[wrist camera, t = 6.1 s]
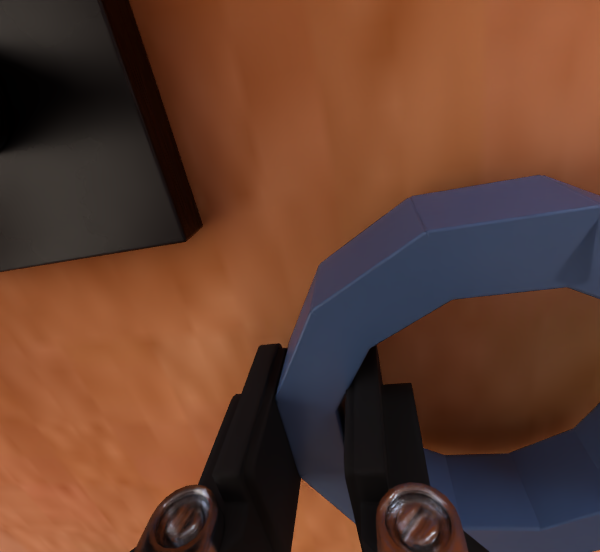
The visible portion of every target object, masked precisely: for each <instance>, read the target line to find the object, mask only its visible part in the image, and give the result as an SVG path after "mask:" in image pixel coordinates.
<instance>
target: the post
mask: <svg viewBox="0 0 600 552" xmlns="http://www.w3.org/2000/svg"><path fill="white" fill-rule="evenodd" d="M202 226H203V224H202V221H201V218H200V215H199V212H198V209H197V206H196V203H195V200H194V197H193V194H192V191H191V188H190V185H189V182H188V179H187V176H186V173H185V170H184V166H183V163H182V160H181V157H180V154H179V151H178V148H177V145H176V142H175V139H174V136H173V133H172V130H171V127H170V124H169V121H168V118H167V115H166V112H165V109H164V106H163V103H162V100H161V97H160V94H159V91H158V88H157V85H156V82H155V79H154V76H153V73H152V69H151V66H150V63H149V60H148V57H147V54H146V51H145V48H144V45H143V42H142V39H141V36H140V33H139V30H138V27H137V24H136V21H135V18H134V15H133V12H132V9H131V6H130V3H129V0H0V272H4V271H10V270H16V269H22V268H28V267H34V266H40V265H47V264H53V263H59V262H65V261H71V260H77V259H83V258H90V257H96V256H102V255H108V254H114V253H120V252H126V251H133V250H139V249H145V248H151V247H157V246H163V245H169V244H176V243H182V242H186V241H187V240H188V239H189V238H190V237H192V236H193V235H194V234H195V233H196V232H197V231H198V230H199V229H200V228H202Z"/></svg>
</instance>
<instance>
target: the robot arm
mask: <svg viewBox="0 0 600 552" xmlns="http://www.w3.org/2000/svg"><path fill="white" fill-rule="evenodd" d="M286 352H287V348H282V346H281V344H279V343H278V344H267V345H260V346H259V348H258V350H257V353H256V356H255V359H254V361H253V364H252V367H251V369H250V372H249V375H248V378H247V380H246V383H245V386H244V388H243V391H242V394H236V395H234V396H233V398H232V400H231V402H230V404H229V407H228V410H227V412H226V415H225V417H224V420H223V422H222V425H221V427H220V430H219V432H218V435H217V437H216V440H215V443H214V445H213V448H212V450H211V453H210V455H209V458H208V460H207V463H206V465H205V468H204V471H203V473H202V476H201V478H200V481H199V483H198V485H189V486H185V487H183V488H180V489H178V490H176V491H174V492H173V493H172V494H170V495H169V496H167V497H166V498H165V499H164V500H163V501H162V502H161V503H160V504H159V505H158V507H157V508H156V510H155V511H154V513H153V514H152V516H151V518H150V520H149V522H148V524H147V526H146V528H145V530H144V532H143V534H142V536H141V538H140V540H139V542H138V544H137V546H136V547H135V548H134V549H133V550H131V551H130V552H291V546H292V539H293V532H294V525H295V518H296V510H297V503H298V496H299V489H300V482H301V477H300V476H299V473H298V470H297V467H296V464H295V461H294V458H293V455H292V451H291V448H290V445H289V442H288V439H287V436H286V432H285V429H284V426H283V423H282V420H281V416H280V413H279V410H278V407H277V404H276V401H275V395H276V391H277V387H278V383H279V379H280V375H281V372H282V368H283V364H284V360H285V356H286ZM344 473H345V480H346V485H347V489H348V493H349V498H350V502H351V506H352V510H353V514H354V519H355V523H356V527H357V531H358V535H359V540H360V544H361V548H362V552H489V551H488V550H487V549H486V548H484V547H483V546H482V545H481V544H480V543H478V542H477V541H476V540H475V539H473V538H472V537H471V536H470V535H468V534H467V533H466V532H465V531H464V530H463V528H462V524H461V520H460V518H459V515H458V513H457V511H456V508H455V507H454V505H453V504H452V503H451V502H450V500H449V499H448V498H447V497H446V496H445V495H444V494H442V493H441V492H440V491H438V490H437V489H436V488H433V487H431V486H430V481H429V476H428V470H427V465H426V459H425V454H424V449H423V443H422V438H421V432H420V427H419V422H418V416H417V411H416V405H415V400H414V394H413V389H412V384H411V383H401V384H385V385H383V383H382V376H381V369H380V362H379V356H378V349H377V344H376V345H375V346H373V347H371V348H370V349H369V351H368V353H367V355H366V357H365V359H364V360H363V362H362V364H361V366H360V368H359V370H358V372H357V374H356V375H355V377H354V379H353V381H352V383H351V385H350V387H349V388H348V390H346V402H345V431H344Z"/></svg>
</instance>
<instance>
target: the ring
mask: <svg viewBox="0 0 600 552" xmlns="http://www.w3.org/2000/svg"><path fill="white" fill-rule="evenodd" d="M564 287H567V288H570V289H573V290H576V291H579V292H582V293H584V294H587V295H590V296H593V297H596V298H598V299H600V196H599V195H597V194H594V193H591V192H588V191H586V190H583V189H580V188H577V187H575V186H572V185H569V184H567V183H564V182H561V181H558V180H556V179H553V178H550V177H547V176H545V175H543V176H541V175H535V176H529V177H523V178H517V179H511V180H505V181H499V182H493V183H487V184H481V185H475V186H469V187H464V188H458V189H452V190H446V191H440V192H434V193H428V194H422V195H416V196H411V197H410V198H407V199H406V200H404V201H403V202H402V203H400V204H399V205H398V206H396V207H395V208H394V209H392V210H391V211H390V212H388V213H387V214H386V215H384V216H383V217H382V218H380V219H379V220H378V221H376V222H375V223H374V224H372V225H371V226H369V227H368V228H367V229H365V230H364V231H363V232H361V233H360V234H359V235H357V236H356V237H355V238H353V239H352V240H351V241H349V242H348V243H347V244H345V245H344V246H343V247H341V248H340V249H339V250H337V251H336V252H335V253H333V254H332V255H331V256H329V257H328V258H327V259H325V260H324V261H323V262H321V264H320V265H319V266H318V269H317V271H316V274H315V277H314V279H313V282H312V284H311V287H310V289H309V292H308V295H307V297H306V300H305V302H304V305H303V307H302V310H301V313H300V315H299V318H298V320H297V323H296V325H295V328H294V331H293V333H292V336H291V338H290V341H289V344H288V348H287V352H286V356H285V360H284V364H283V368H282V372H281V375H280V379H279V383H278V387H277V391H276V395H275V401H276V404H277V407H278V410H279V413H280V416H281V420H282V423H283V426H284V429H285V432H286V436H287V439H288V442H289V445H290V448H291V451H292V455H293V458H294V461H295V464H296V467H297V470H298V473H299V476H300V477H301V478H302V479H303V480H304V481H305V482H307V483H308V484H309V485H310V486H311V487H313V488H314V489H315V490H316V491H317V492H318V493H320V494H321V495H322V496H323V497H324V498H326V499H327V500H328V501H329V502H330V503H332V504H333V505H334V506H335V507H336V508H337V509H339V510H340V511H341V512H342V513H343V514H345V515H346V516H347V517H348V518H349V519H350V520H352V521H353V522H354V523H355V519H354V514H353V510H352V506H351V502H350V498H349V493H348V489H347V485H346V480H345V473H344V431H345V402H346V390H348V388H349V387H350V385H351V383H352V381H353V379H354V377H355V375H356V374H357V372H358V370H359V368H360V366H361V364H362V362H363V360H364V359H365V357H366V355H367V353H368V351H369V349H370V348H371V347H373V346H375V345H376V344H378V343H380V342H381V341H383V340H385V339H387V338H388V337H390V336H392V335H393V334H395V333H397V332H398V331H400V330H402V329H404V328H405V327H407V326H409V325H410V324H412V323H414V322H415V321H417V320H419V319H421V318H422V317H424V316H426V315H427V314H429V313H431V312H432V311H434V310H436V309H437V308H439V307H441V306H443V305H444V304H446V303H448V302H449V301H451V300H454V299H463V298H472V297H481V296H491V295H500V294H509V293H518V292H527V291H537V290H546V289H555V288H564ZM423 449H424V454H425V459H426V465H427V470H428V476H429V481H430V486H431V487H433V488H436V489H437V490H438V491H440V492H441V493H442V494H444V495H445V496H446V497H447V498H448V499H449V500H450V502H451V503H452V504H453V505H454V507H455V508H456V511H457V513H458V515H459V518H460V520H461V524H462V528H463V530H464V531H465V532H466V533H467V534H468V535H470V536H471V537H472V538H473V539H475V540H476V541H477V542H478V543H480V544H481V545H482V546H483V547H484V548H486V549H487V550H488V551H489V552H593V551H597V550H600V403H599V404H598V405H597V406H596V407H595V408H594V409H593V410H592V411H591V412H590V413H589V414H588V415H587V416H586V417H585V418H584V419H582V420H581V421H580V422H579V423H578V424H577V425H576V426H575V427H574V428H573V429H570V430H568V431H565V432H563V433H560V434H557V435H555V436H552V437H550V438H547V439H544V440H542V441H539V442H537V443H534V444H531V445H529V446H526V447H524V448H521V449H518V450H516V451H513V452H511V453H505V454H466V455H443V454H440V453H437V452H434V451H431V450H428V449H425V448H423ZM355 524H356V523H355Z"/></svg>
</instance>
